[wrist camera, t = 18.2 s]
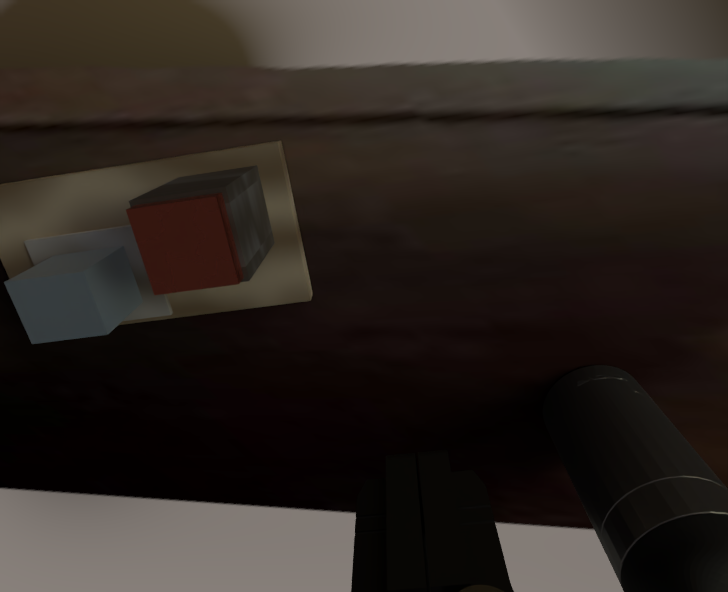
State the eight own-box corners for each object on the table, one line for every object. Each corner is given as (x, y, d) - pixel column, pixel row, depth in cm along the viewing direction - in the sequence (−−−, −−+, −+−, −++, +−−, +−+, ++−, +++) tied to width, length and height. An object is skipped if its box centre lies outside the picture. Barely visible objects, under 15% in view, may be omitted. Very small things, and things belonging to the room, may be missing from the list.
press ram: (263, 249, 39) (239, 284, 32) (193, 258, 39) (154, 295, 33) (246, 175, 37) (215, 196, 30) (171, 186, 37) (125, 209, 30)
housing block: (143, 301, 43) (107, 334, 37) (76, 310, 43) (31, 344, 38) (123, 245, 41) (83, 271, 36) (54, 255, 42) (3, 282, 36)
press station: (312, 293, 44) (294, 349, 35) (45, 328, 47) (-38, 389, 37) (281, 140, 39) (250, 158, 30) (-17, 186, 42) (-130, 217, 32)
